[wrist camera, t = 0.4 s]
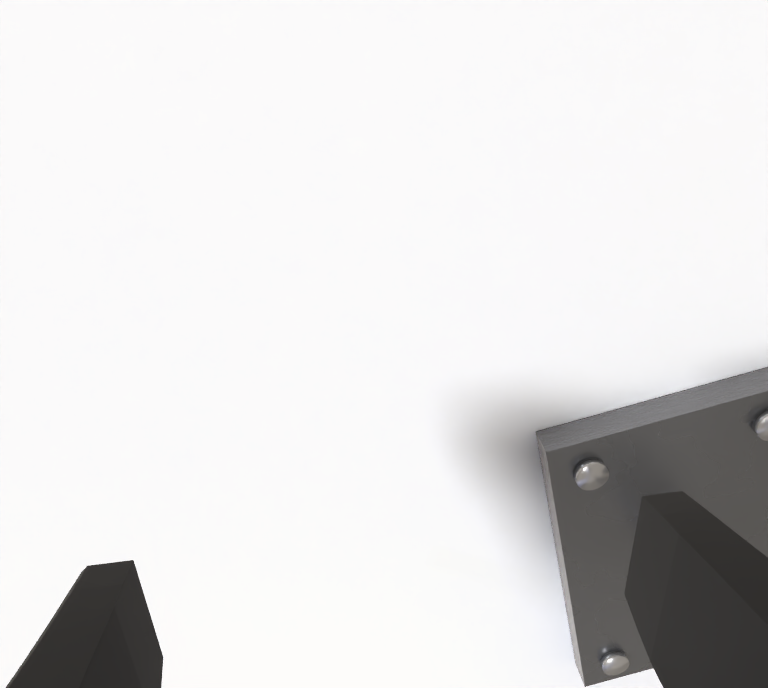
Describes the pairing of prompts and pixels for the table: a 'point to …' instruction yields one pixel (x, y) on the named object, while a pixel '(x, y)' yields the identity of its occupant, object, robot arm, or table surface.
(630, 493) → the plate
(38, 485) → the table surface
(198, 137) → the table surface
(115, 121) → the table surface
